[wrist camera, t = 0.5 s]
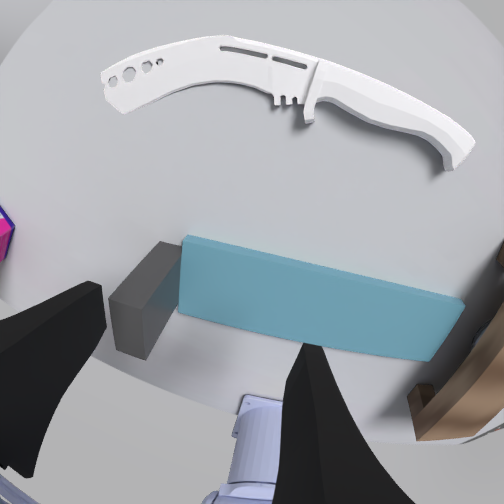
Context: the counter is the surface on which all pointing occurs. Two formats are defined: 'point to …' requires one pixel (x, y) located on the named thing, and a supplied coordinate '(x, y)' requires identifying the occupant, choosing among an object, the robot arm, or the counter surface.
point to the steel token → (480, 333)
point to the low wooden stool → (465, 389)
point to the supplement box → (5, 233)
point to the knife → (283, 87)
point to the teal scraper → (277, 302)
